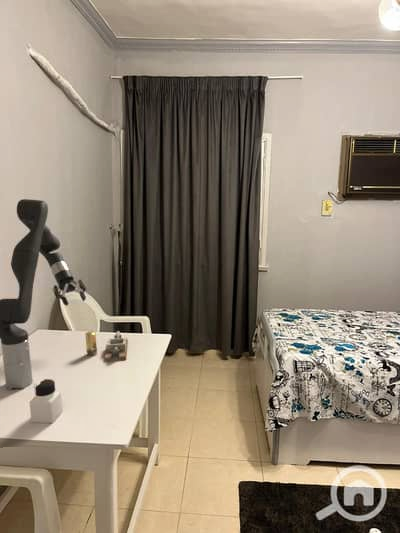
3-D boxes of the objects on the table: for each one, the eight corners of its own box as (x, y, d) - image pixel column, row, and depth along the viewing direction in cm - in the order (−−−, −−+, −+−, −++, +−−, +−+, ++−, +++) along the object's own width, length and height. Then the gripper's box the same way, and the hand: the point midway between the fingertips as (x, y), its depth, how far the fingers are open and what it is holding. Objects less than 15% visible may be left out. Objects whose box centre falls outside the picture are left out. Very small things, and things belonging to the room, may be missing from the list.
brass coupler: (96, 355, 171) (95, 334, 169) (86, 356, 170) (84, 335, 169) (97, 352, 175) (96, 331, 174) (87, 352, 175) (86, 331, 173)
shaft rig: (126, 360, 166) (125, 348, 165) (104, 362, 164) (104, 349, 163) (127, 340, 189) (127, 330, 188) (109, 342, 187) (108, 331, 186)
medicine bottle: (63, 411, 126) (60, 377, 124) (52, 423, 119) (49, 387, 117) (42, 410, 127) (39, 376, 125) (31, 422, 120) (27, 387, 118)
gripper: (49, 272, 173) (63, 302, 169) (78, 266, 183) (92, 294, 179) (45, 280, 178) (59, 310, 174) (73, 274, 188) (87, 302, 184)
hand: (76, 302), depth 176 cm, fingers open, 8 cm apart
